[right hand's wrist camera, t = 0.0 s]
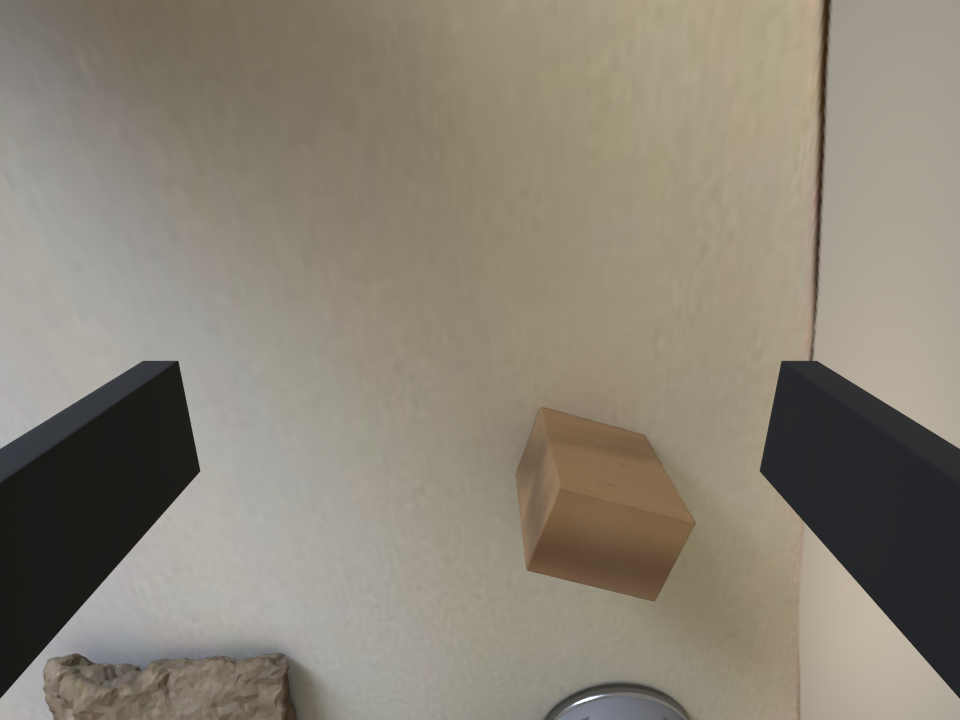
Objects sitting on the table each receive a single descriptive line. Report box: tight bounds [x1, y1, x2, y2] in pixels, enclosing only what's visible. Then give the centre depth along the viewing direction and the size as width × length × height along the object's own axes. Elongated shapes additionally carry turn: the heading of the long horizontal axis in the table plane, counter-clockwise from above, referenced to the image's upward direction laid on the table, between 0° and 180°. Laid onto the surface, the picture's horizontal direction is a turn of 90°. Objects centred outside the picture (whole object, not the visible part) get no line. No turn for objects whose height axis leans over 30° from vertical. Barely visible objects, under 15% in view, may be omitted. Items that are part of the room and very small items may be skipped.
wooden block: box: [516, 407, 695, 601], centre depth 39 cm, size 6×9×11 cm
